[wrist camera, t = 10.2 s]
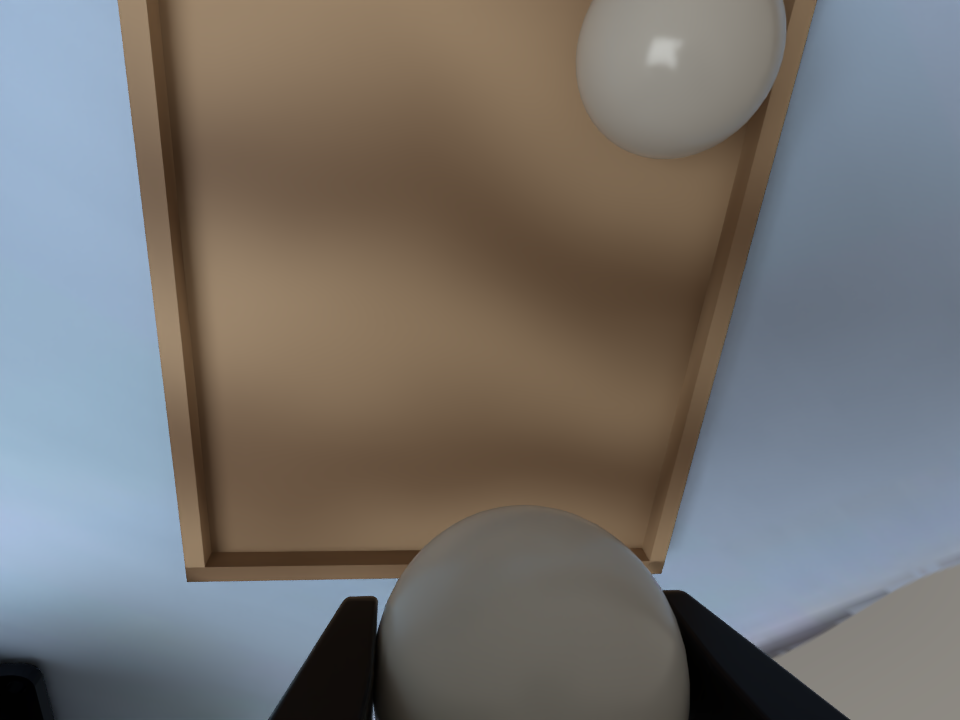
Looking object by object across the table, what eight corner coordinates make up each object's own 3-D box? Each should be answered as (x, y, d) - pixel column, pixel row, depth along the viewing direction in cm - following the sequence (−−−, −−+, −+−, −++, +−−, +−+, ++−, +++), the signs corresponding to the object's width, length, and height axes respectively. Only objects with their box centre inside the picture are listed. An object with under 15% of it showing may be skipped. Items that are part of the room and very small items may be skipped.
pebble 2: (695, 163, 14) (797, 173, 10) (543, 147, 13) (595, 153, 10) (736, -22, 12) (870, -83, 9) (568, -49, 12) (640, -125, 8)
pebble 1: (598, 643, 10) (706, 930, 6) (374, 650, 9) (356, 971, 6) (642, 452, 8) (815, 684, 5) (382, 447, 8) (363, 705, 4)
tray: (648, 551, 19) (661, 573, 18) (198, 556, 16) (186, 581, 16) (852, -243, 11) (892, -277, 10) (94, -422, 9) (60, -482, 8)
